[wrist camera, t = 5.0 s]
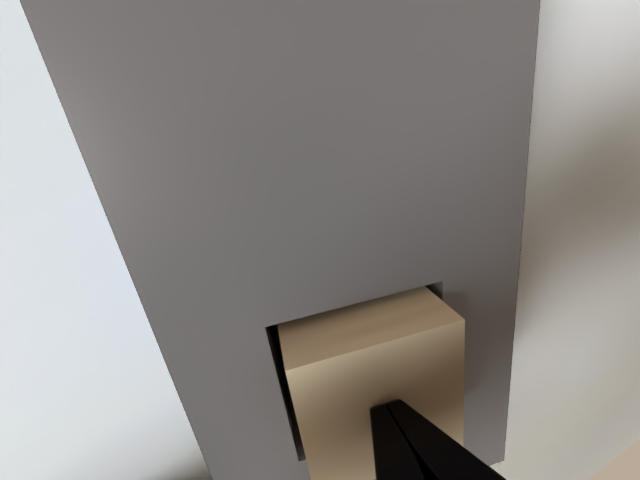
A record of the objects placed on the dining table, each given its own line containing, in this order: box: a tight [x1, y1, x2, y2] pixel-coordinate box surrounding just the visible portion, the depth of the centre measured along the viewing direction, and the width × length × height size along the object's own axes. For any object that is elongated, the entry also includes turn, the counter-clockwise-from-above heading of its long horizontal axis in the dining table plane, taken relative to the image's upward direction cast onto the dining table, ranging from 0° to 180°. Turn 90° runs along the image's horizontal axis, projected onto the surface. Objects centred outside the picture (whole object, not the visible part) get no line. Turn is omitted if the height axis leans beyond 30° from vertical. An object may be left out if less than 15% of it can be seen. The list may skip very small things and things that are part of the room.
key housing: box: [20, 0, 540, 480], centre depth 9 cm, size 25×10×5 cm, turn 9°
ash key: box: [277, 286, 465, 480], centre depth 10 cm, size 4×4×4 cm
